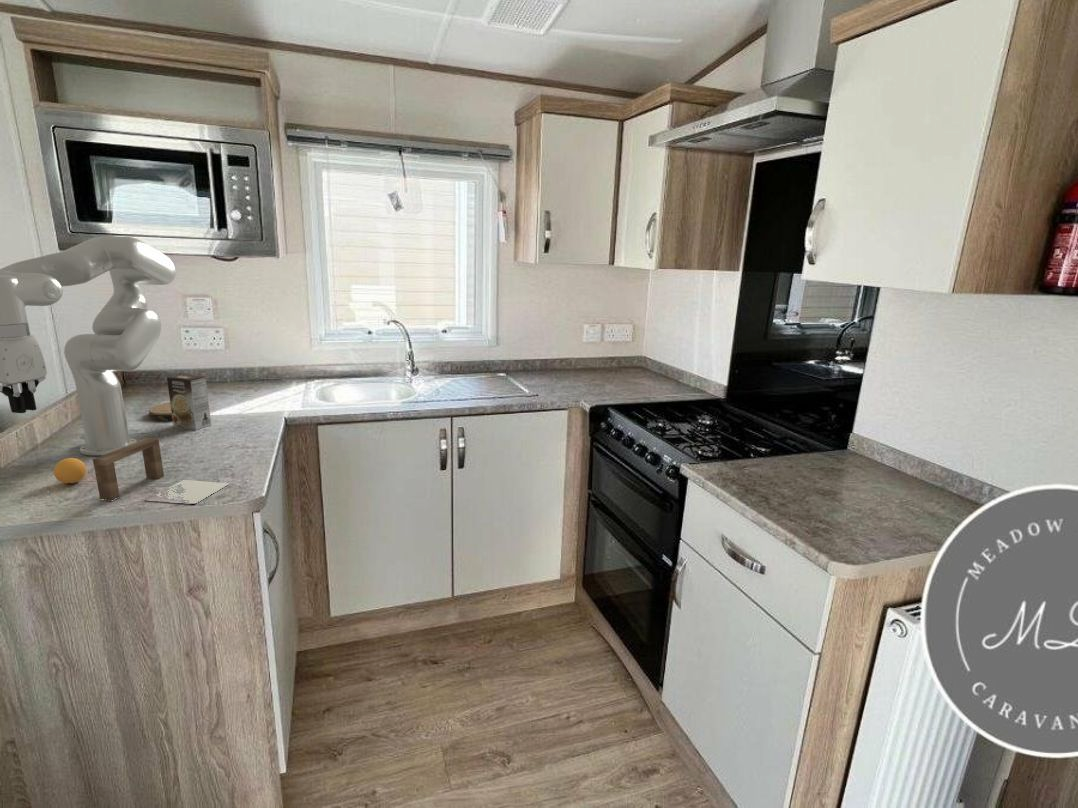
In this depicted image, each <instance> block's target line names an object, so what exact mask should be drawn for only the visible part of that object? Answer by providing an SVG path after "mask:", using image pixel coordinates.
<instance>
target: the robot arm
mask: <svg viewBox="0 0 1078 808" xmlns="http://www.w3.org/2000/svg"><path fill="white" fill-rule="evenodd" d="M175 266H176V265H175V264H174V262H173V261H172V259H171V258H170V257H168V256H167V255H165V254H164V253H163V252H161V251H159V250H157V249H156V248H155V247H153V246H151V245H149V244H148V243H146V242H144V241H143V240H140V239H138V238H136V237H133V236H132V237H131V236H114V235H113V236H112V235H111V236H109V235H100V236H99V235H98V236H94V237H92V238H89V239H87V240H85V241H82V242H80V243H78V244H76V245H73V246H71V247H69V248H67V249H65V250H62V251H58V252H54V253H50V254H46V255H43V256H38V257H34V258H33V257H32V258H29V259H25V260H21V261H16V262H14V263H12V264H9V265H6V266H4V267H2V268H0V393H1V394H3V395H4V396H5V397H7V399H8V403H9V408H10V410H11V413H14V414H25V413H27V411H37V406H36V400H35V399H36V398H35V393H36V392H37V387H38V386H39V384H40V383H42V382H43V381H45V380H46V377H47V374H48V373H47V367H46V363H45V358H44V355H43V352H42V350H41V347H40V343H39V342H38V340H37V339H36V336H35V335H31V331H30V325H29V322H28V321H29V320H28V317H27V311H26V307H27V306H29V307H32V306H33V307H46V306H52V305H54V304H55V303H56V304H57V302H59V301H60V300H61V298H62V296H63V293H64V292H63V291H64V290H63V287H71V286H76V285H81V284H85V283H88V282H90V281H92V280H94V279H95V278H97V277H99V276H101V275H103V274H105V273H107V272H109V274H110V278H111V283H112V287H113V292H112V295H111V297H110V298H109V300H108V301H106V303H105V305H104V306H103V307H102V308H101V310H100V311H99V312H98V314H97V315H95V318H94V320H93V322H92V331H93V333H85V334H84V333H82V334H77V335H75V336H72V337H71V338H69V339H68V340H67V341H66V343H65V345H64V347H63V348H64V349H63V350H64V352H63V354H64V357H65V361H66V363H67V365H68V367H69V369H70V371H71V375H72V377H73V380H74V385H75V389H76V393H77V400H78V405H79V411H80V415H81V421H82V426H83V432H84V433H82V434H80V435H79V439H80V440H84V443H85V444H84V445H82V446H81V447H80V449H79V450H80V453H81V454H82V455H85V456H94V457H95V456H96V457H99V456H102V455H105V454H107V453H110V452H112V451H115V450H118V449H120V448H123V447H125V446H128V445H130V444H133V443H135V442H138V440H137V439H135V438H132V437H130V434H129V429H128V423H127V422H128V421H127V417H126V415H127V414H126V410H125V402H124V399H123V392H122V385H121V383H120V381H119V378H118V377H117V375H116V374H115V373H114V372H130V371H133V370H136V369H137V368H139V367H140V366H141V364H142V363H143V362H144V361H145V360H146V358H147V357H148V354H149V353H150V352H151V351H152V349H153V347H154V346H155V344H156V343H157V341H158V340H159V338H160V335H161V331H162V322H161V319H160V316H158V314H157V313H156V312H155V311H153V310H152V309H149V308H148V301H147V299H146V296H145V295H144V293H143V292H142V290H141V288H140V285H143V286H144V285H147V286H148V285H149V286H150V285H151V286H152V285H154V286H155V285H156V286H165V285H169V284H170V283H172V282H173V281H174V280H175V278H176V273H177V271H176V267H175ZM18 385H19V386H18ZM19 388H20V389H19Z"/></svg>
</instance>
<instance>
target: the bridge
mask: <svg viewBox="0 0 1078 808" xmlns="http://www.w3.org/2000/svg"><path fill="white" fill-rule="evenodd" d="M159 440H160V439H159V438H155V437H153V438H152V437H145V438H143V439H141V440H137V442H135V443H133V444H130V445H128V446H125V447H123V448H120V449H118V450H115V451H112V452H110V453H107V454H105V455H99V456H96V457H95V458H92V464H93V469H94V474H95V478H96V484H97V490H98V495H99V500H100V499H104V500H105V499H106V500H114V499H115V498H118V497H120V498H121V495H120V489H119V484H118V478H117V472H116V467H115V462H118V461H120V460H122V459H124V458H128V457H130V456H132V455H135V454H137V453H139V452H142V458H143V459H142V460H143V464H144V465H143V466H144V471H145V476H146V479H148V478H154V479H153V480H159V479H161V478H160V477H162V478H164V477H165V475H164V467H163V460H162V453H161V446H160V441H159ZM163 476H164V477H163Z"/></svg>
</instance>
